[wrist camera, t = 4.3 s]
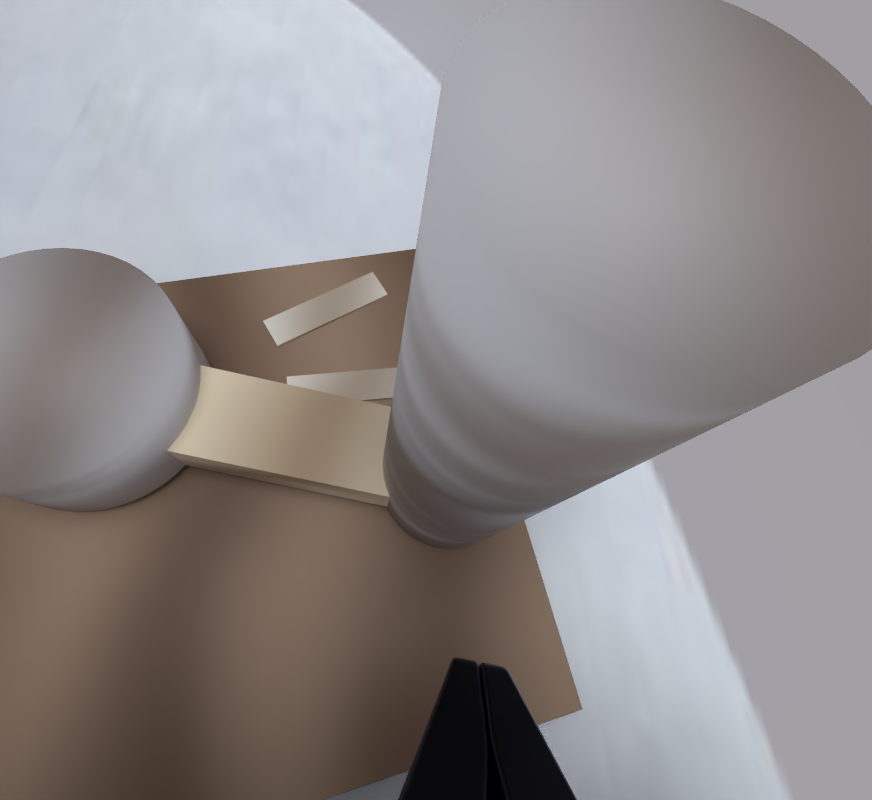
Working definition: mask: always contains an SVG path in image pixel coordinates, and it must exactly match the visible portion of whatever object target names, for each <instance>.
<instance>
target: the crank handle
mask: <svg viewBox="0 0 872 800" xmlns="http://www.w3.org/2000/svg"><path fill="white" fill-rule="evenodd" d="M871 349H872V105H870V103H869V102H868V101H867V100H866V99H865V97H864V96H863V95H862V94H861V93H860V92H859V91H858V89H857V88H855V87H854V86H853V85H852V84H851V83H850V82H849V81H848V80H847V79H846V78H845V77H844V76H843V75H842V74H841V73H840V72H839V71H838V70H837V69H836V68H834V67H833V66H832V65H831V64H829V63H828V62H827V61H826V60H825V59H823V58H822V57H821V56H820V55H818V54H817V53H816V52H814V51H813V50H812V49H810V48H809V47H807V46H806V45H805V44H803V43H802V42H800V41H799V40H797V39H796V38H795V37H793V36H792V35H790V34H788V33H787V32H785V31H783V30H782V29H780V28H778V27H776V26H775V25H773V24H771V23H770V22H768V21H766V20H764V19H762V18H760V17H758V16H756V15H754V14H752V13H750V12H748V11H746V10H744V9H742V8H739V7H737V6H735V5H732V4H730V3H727V2H724V1H722V0H508V1H507V2H505V3H503V4H501V5H500V6H498V7H496V8H494V9H493V10H492V11H491V12H489V13H488V14H487V15H486V16H485V17H483V18H482V19H481V20H480V21H478V22H477V23H476V24H475V26H474V27H473V28H472V29H471V30H470V31H469V32H468V33H467V35H466V36H465V37H464V38H463V39H462V40H461V42H460V44H459V45H458V47H457V49H456V51H455V52H454V54H453V56H452V57H451V59H450V62H449V64H448V67H447V70H446V73H445V76H444V78H443V81H442V86H441V93H440V99H439V105H438V112H437V118H436V124H435V131H434V137H433V144H432V150H431V156H430V163H429V169H428V175H427V182H426V188H425V194H424V201H423V207H422V213H421V220H420V226H419V233H418V239H417V245H416V252H415V258H414V264H413V271H412V277H411V283H410V290H409V296H408V302H407V309H406V315H405V321H404V328H403V334H402V341H401V347H400V353H399V360H398V366H397V372H396V379H395V385H394V391H393V398H392V404H391V407H389V406H385V405H380V404H376V403H371V402H367V401H362V400H357V399H353V398H348V397H344V396H339V395H334V394H330V393H325V392H321V391H316V390H312V389H307V388H302V387H298V386H293V385H289V384H284V383H279V382H275V381H270V380H266V379H261V378H257V377H252V376H247V375H243V374H238V373H234V372H229V371H224V370H220V369H215V368H211V367H210V364H209V362H208V360H207V358H206V356H205V354H204V353H203V351H202V350H201V348H200V347H199V345H198V343H197V342H196V340H195V339H194V337H193V336H192V334H191V332H190V331H189V329H188V328H187V326H186V325H185V323H184V321H183V320H182V318H181V317H180V315H179V314H178V312H177V311H176V309H175V307H174V306H173V304H172V303H171V301H170V300H169V298H168V297H167V295H166V294H165V293H164V291H163V290H162V289H161V288H160V287H159V286H158V285H157V284H156V282H155V281H154V280H153V279H151V278H150V277H149V276H148V275H146V274H145V273H144V272H142V271H141V270H140V269H138V268H136V267H134V266H133V265H131V264H129V263H127V262H125V261H123V260H120V259H118V258H115V257H113V256H110V255H106V254H103V253H99V252H94V251H88V250H83V249H69V248H55V249H41V250H34V251H27V252H23V253H18V254H14V255H10V256H7V257H4V258H1V259H0V494H2V495H5V496H9V497H12V498H15V499H19V500H22V501H26V502H29V503H33V504H36V505H39V506H43V507H47V508H51V509H54V510H62V511H69V512H88V511H97V510H104V509H109V508H113V507H117V506H121V505H123V504H126V503H129V502H132V501H135V500H137V499H139V498H141V497H143V496H145V495H147V494H149V493H151V492H153V491H154V490H156V489H157V488H159V487H160V486H162V485H164V484H165V483H166V482H167V481H169V480H170V479H171V478H172V477H174V476H175V475H176V474H177V473H178V472H179V471H180V470H181V469H182V468H183V467H184V466H185V465H188V466H193V467H197V468H202V469H207V470H212V471H217V472H222V473H226V474H231V475H236V476H241V477H246V478H251V479H255V480H260V481H265V482H270V483H275V484H280V485H285V486H289V487H294V488H299V489H304V490H309V491H314V492H318V493H323V494H328V495H333V496H338V497H343V498H347V499H352V500H357V501H362V502H367V503H372V504H377V505H381V506H386V507H387V508H388V510H389V511H390V513H391V515H392V516H393V518H394V519H395V520H396V522H397V523H398V524H399V525H400V526H401V527H402V528H403V529H404V530H405V531H406V532H407V533H409V534H410V535H411V536H413V537H414V538H416V539H418V540H419V541H422V542H424V543H426V544H429V545H433V546H436V547H443V548H459V547H465V546H469V545H472V544H475V543H477V542H479V541H482V540H484V539H486V538H488V537H490V536H492V535H494V534H496V533H498V532H500V531H502V530H504V529H506V528H509V527H511V526H513V525H515V524H517V523H519V522H521V521H523V520H525V519H527V518H529V517H531V516H533V515H535V514H537V513H539V512H541V511H544V510H546V509H548V508H550V507H552V506H554V505H556V504H558V503H560V502H562V501H564V500H566V499H568V498H570V497H572V496H574V495H577V494H579V493H581V492H583V491H585V490H587V489H589V488H591V487H593V486H595V485H597V484H599V483H601V482H603V481H605V480H607V479H610V478H612V477H614V476H616V475H618V474H620V473H622V472H624V471H626V470H628V469H630V468H632V467H634V466H636V465H638V464H640V463H642V462H645V461H647V460H649V459H651V458H653V457H655V456H657V455H659V454H661V453H663V452H665V451H667V450H669V449H671V448H673V447H675V446H678V445H680V444H681V443H684V442H686V441H688V440H690V439H692V438H694V437H696V436H698V435H700V434H702V433H704V432H706V431H708V430H710V429H712V428H714V427H717V426H718V425H721V424H723V423H725V422H727V421H729V420H731V419H733V418H735V417H737V416H739V415H741V414H743V413H746V412H748V411H750V410H752V409H754V408H756V407H758V406H760V405H762V404H764V403H766V402H768V401H770V400H772V399H774V398H776V397H779V396H781V395H783V394H785V393H786V392H789V391H791V390H793V389H795V388H797V387H799V386H801V385H803V384H805V383H807V382H809V381H811V380H814V379H816V378H817V377H820V376H822V375H824V374H826V373H828V372H830V371H832V370H834V369H836V368H838V367H840V366H842V365H844V364H846V363H849V362H851V361H853V360H855V359H857V358H859V357H860V356H862V355H863V354H865V353H866V352H868V351H869V350H871Z"/></svg>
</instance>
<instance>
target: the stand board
mask: <svg viewBox="0 0 872 800" xmlns="http://www.w3.org/2000/svg"><path fill="white" fill-rule="evenodd" d="M415 252H416V249H412V250H405V251H397V252H390V253H382V254H375V255H367V256H360V257H352V258H345V259H337V260H330V261H322V262H315V263H307V264H300V265H292V266H285V267H277V268H270V269H262V270H255V271H247V272H240V273H232V274H225V275H217V276H210V277H202V278H195V279H187V280H180V281H172V282H165V283H157V285H158V286H159V287H160V288H161V289H162V290H163V291H164V293H165V294H166V295H167V297H168V298H169V300H170V301H171V303H172V304H173V306H174V307H175V309H176V311H177V312H178V314H179V315H180V317H181V318H182V320H183V321H184V323H185V325H186V326H187V328H188V329H189V331H190V332H191V334H192V336H193V337H194V339H195V340H196V342H197V343H198V345H199V347H200V348H201V350H202V351H203V353H204V354H205V356H206V358H207V360H208V362H209V364H210V367H211V368H215V369H220V370H224V371H229V372H234V373H238V374H243V375H247V376H252V377H257V378H261V379H266V380H270V381H275V382H279V383H284V384H289V385H293V386H298V387H302V388H307V389H312V390H316V391H321V392H325V393H330V394H334V395H339V396H344V397H348V398H353V399H357V400H362V401H367V402H371V403H376V404H380V405H385V406H389V407H391V404H392V398H393V391H394V385H395V379H396V372H397V366H398V360H399V353H400V347H401V341H402V334H403V328H404V321H405V315H406V309H407V302H408V296H409V290H410V283H411V277H412V271H413V264H414V258H415ZM454 657H458V658H463V659H468V660H473V661H476V662H477V663H478V665H479V664H480V663H489V664H494V665H499V666H503V667H504V668H506V669H507V670H508V672H509V674H510V675H511V677H512V679H513V681H514V683H515V685H516V687H517V689H518V690H519V692H520V694H521V696H522V698H523V700H524V702H525V704H526V705H527V707H528V709H529V711H530V713H531V715H532V717H533V718H534V720H535V722H536V724H537V725H539V724H542V723H544V722H547V721H550V720H553V719H556V718H559V717H561V716H564V715H567V714H570V713H573V712H576V711H578V710H581V709H582V707H581V703H580V700H579V697H578V694H577V690H576V687H575V684H574V681H573V677H572V674H571V671H570V668H569V664H568V661H567V658H566V655H565V651H564V648H563V645H562V642H561V638H560V635H559V632H558V629H557V625H556V622H555V619H554V616H553V612H552V609H551V606H550V603H549V599H548V596H547V593H546V590H545V586H544V583H543V580H542V577H541V573H540V570H539V567H538V564H537V560H536V557H535V554H534V551H533V547H532V544H531V541H530V538H529V534H528V531H527V528H526V525H525V521H524V520H523V521H521V522H519V523H517V524H515V525H513V526H511V527H509V528H506V529H504V530H502V531H500V532H498V533H496V534H494V535H492V536H490V537H488V538H486V539H484V540H482V541H479V542H477V543H475V544H472V545H469V546H465V547H459V548H443V547H436V546H433V545H429V544H426V543H424V542H422V541H419V540H418V539H416V538H414V537H413V536H411V535H410V534H409V533H407V532H406V531H405V530H404V529H403V528H402V527H401V526H400V525H399V524H398V523H397V522H396V520H395V519H394V518H393V516H392V515H391V513H390V511H389V510H388V508H387V507H386V506H381V505H377V504H372V503H367V502H362V501H357V500H352V499H347V498H343V497H338V496H333V495H328V494H323V493H318V492H314V491H309V490H304V489H299V488H294V487H289V486H285V485H280V484H275V483H270V482H265V481H260V480H255V479H251V478H246V477H241V476H236V475H231V474H226V473H222V472H217V471H212V470H207V469H202V468H197V467H193V466H188V465H185V466H184V467H183V468H182V469H181V470H180V471H179V472H178V473H177V474H176V475H175V476H174V477H172V478H171V479H170V480H169V481H167V482H166V483H165V484H164V485H162V486H160V487H159V488H157V489H156V490H154V491H153V492H151V493H149V494H147V495H145V496H143V497H141V498H139V499H137V500H135V501H132V502H129V503H126V504H123V505H121V506H117V507H113V508H109V509H104V510H97V511H88V512H69V511H62V510H54V509H51V508H47V507H43V506H39V505H36V504H33V503H29V502H26V501H22V500H19V499H15V498H12V497H9V496H5V495H2V494H0V800H325V799H328V798H331V797H334V796H337V795H339V794H342V793H345V792H348V791H351V790H354V789H357V788H359V787H362V786H365V785H368V784H371V783H374V782H376V781H379V780H382V779H385V778H388V777H391V776H394V775H396V774H399V773H402V772H405V771H408V770H410V767H411V765H412V762H413V759H414V757H415V754H416V752H417V749H418V746H419V744H420V741H421V738H422V736H423V733H424V731H425V728H426V725H427V723H428V720H429V717H430V715H431V712H432V710H433V707H434V704H435V702H436V699H437V696H438V694H439V691H440V688H441V686H442V683H443V681H444V678H445V675H446V673H447V670H448V667H449V665H450V662H451V660H452V659H453V658H454Z"/></svg>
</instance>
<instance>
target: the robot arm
mask: <svg viewBox="0 0 872 800" xmlns="http://www.w3.org/2000/svg"><path fill="white" fill-rule="evenodd" d="M398 800H577V799H576V797H575V795H574V793H573V792H572V790H571V788H570V786H569V784H568V782H567V780H566V778H565V777H564V775H563V773H562V771H561V769H560V767H559V765H558V763H557V762H556V760H555V758H554V756H553V754H552V752H551V750H550V748H549V747H548V745H547V743H546V741H545V739H544V737H543V735H542V733H541V732H540V730H539V728H538V726H537V724H536V722H535V720H534V718H533V717H532V715H531V713H530V711H529V709H528V707H527V705H526V704H525V702H524V700H523V698H522V696H521V694H520V692H519V690H518V689H517V687H516V685H515V683H514V681H513V679H512V677H511V675H510V674H509V672H508V670H507V669H506V668H504V667H503V666H499V665H494V664H489V663H480V664H479V665H478V663H477V662H476V661H473V660H468V659H463V658H458V657H454V658H453V659H452V660H451V662H450V665H449V667H448V670H447V673H446V675H445V678H444V681H443V683H442V686H441V688H440V691H439V694H438V696H437V699H436V702H435V704H434V707H433V710H432V712H431V715H430V717H429V720H428V723H427V725H426V728H425V731H424V733H423V736H422V738H421V741H420V744H419V746H418V749H417V752H416V754H415V757H414V759H413V762H412V765H411V767H410V770H409V773H408V775H407V778H406V781H405V783H404V786H403V788H402V791H401V794H400V796H399V799H398Z"/></svg>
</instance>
